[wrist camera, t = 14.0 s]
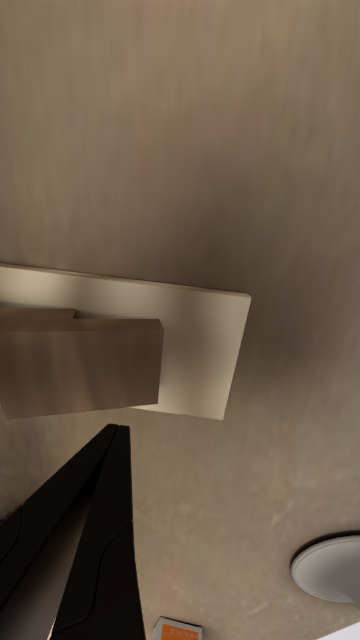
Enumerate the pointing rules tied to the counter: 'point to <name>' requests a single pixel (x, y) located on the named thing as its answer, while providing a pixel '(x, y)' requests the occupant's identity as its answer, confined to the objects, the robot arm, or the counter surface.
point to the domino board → (151, 303)
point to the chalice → (330, 570)
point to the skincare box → (175, 631)
